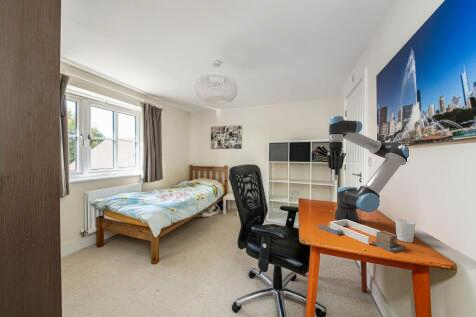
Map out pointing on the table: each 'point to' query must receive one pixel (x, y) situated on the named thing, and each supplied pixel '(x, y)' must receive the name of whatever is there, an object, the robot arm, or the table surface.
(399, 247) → the grey bracket
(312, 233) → the table surface
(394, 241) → the walnut cube
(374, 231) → the cubby
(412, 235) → the white cup
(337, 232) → the crook tool
